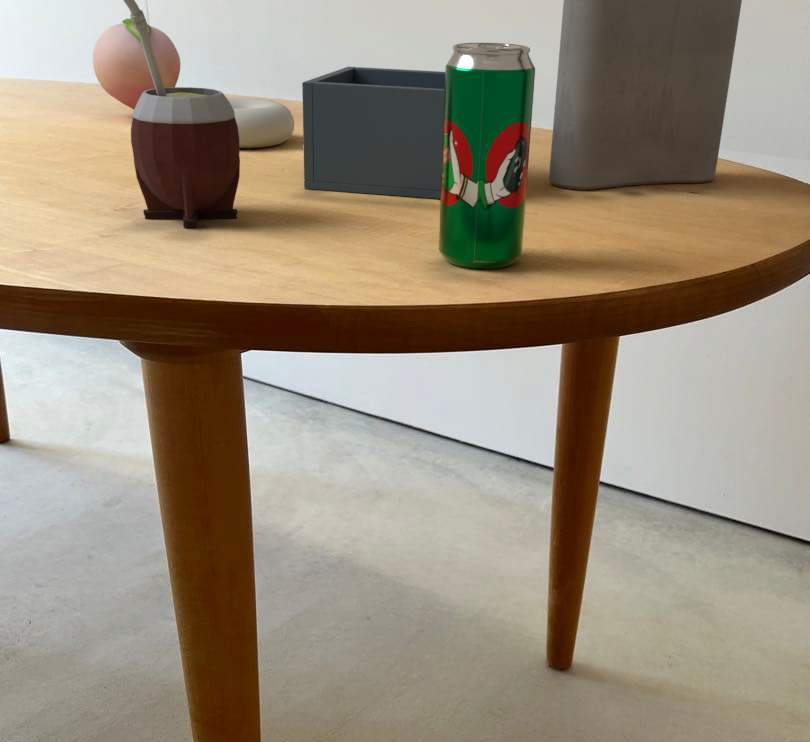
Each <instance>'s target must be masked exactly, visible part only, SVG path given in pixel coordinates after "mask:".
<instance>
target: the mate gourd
mask: <svg viewBox="0 0 810 742" xmlns="http://www.w3.org/2000/svg"><path fill="white" fill-rule="evenodd" d="M123 2H124V4H125V5H126V6H127V8H128V10H129V12H130V15H129V16H130V19H132V22H133V25H134V27H135V30H137V31H138V33H139V37H140V40H141V43H142V47H143V50H144V53H145V57H146V60H147V63H148V66H149V70H150V73H151V76H152V80H153V83H154V86H155V89H150V90H146V91H144V92H143V93H142V95H141V97H140V99H139V100H138V102H137V105H136V107H135V109H134V110H132V113H131V116H132V120H131V126H130V144H131V149H132V154H133V165H134V170H135V176H136V180H137V183H138V184H139V189H140V191H141V193H142V196H143V198H144V203H145V206H146V208H147V209H143V211H142V213H143V215H144V219H146V220H154V219H155V220H158V219H159V220H161V219H162V220H164V219H165V220H167V219H168V220H169V219H170V220H171V219H172V220H174V219H177V220H179V219H180V220H182V222H183V228H185V229H194V228H196V227H197V223H198V220H199V219H237V218H238V209H237V208H234V205H235V199H236V195H237V191H238V186H239V181H240V175H241V174H240V173H241V171H240V169H241V159H240V148H239V132H238V126H237V122H236V119H235V112H234V110H233V108H232V106H231V104H230V102H229V101H228V99H227V98H228V97H227V96H226V95H225V94H224V93H223V92H222V91H221V90H218V89H214V88H206V87H192V86H191V87H190V86H189V87H187V86H186V87H185V86H184V87H183V86H182V87H181V86H180V87H179V86H175V87H172V88H164V85H163V82H162V79H161V76H160V72H159V69H158V66H157V62H156V59H155V56H154V52H153V49H152V46H151V42H150V39H149V35H148V32H147V26H148V25H149V24H148V22H147V19H146V16H145V14H144V11H143V10H142V9H140V7H139V5H138V3H137V2H136V1H135V0H123ZM147 24H148V25H147Z"/></svg>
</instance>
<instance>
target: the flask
mask: <svg viewBox="0 0 810 742" xmlns="http://www.w3.org/2000/svg"><path fill="white" fill-rule="evenodd" d="M742 1H743V0H563V5H562V17H561V18H562V19H561V28H560V41H559V54H558V64H557V75H556V76H557V78H556V89H555V102H554V113H553V123H552V136H551V150H550V163H549V175H548V181H549V182H550V183H551V184H552V185H553V186H555V187H558V188H562V189H568V190H577V191H579V190H580V191H595V190H602V189H611V188H616V187H617V188H618V187H628V186H641V185H658V184H659V185H660V184H701V183H709V182H711V181H712V180H714V178H716V172H717V166H718V161H719V152H720V146H721V140H722V133H723V127H724V120H725V114H726V106H727V100H728V94H729V87H730V80H731V75H732V74H731V73H732V67H733V62H734V54H735V48H736V41H737V34H738V28H739V21H740V15H741V9H742Z"/></svg>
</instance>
